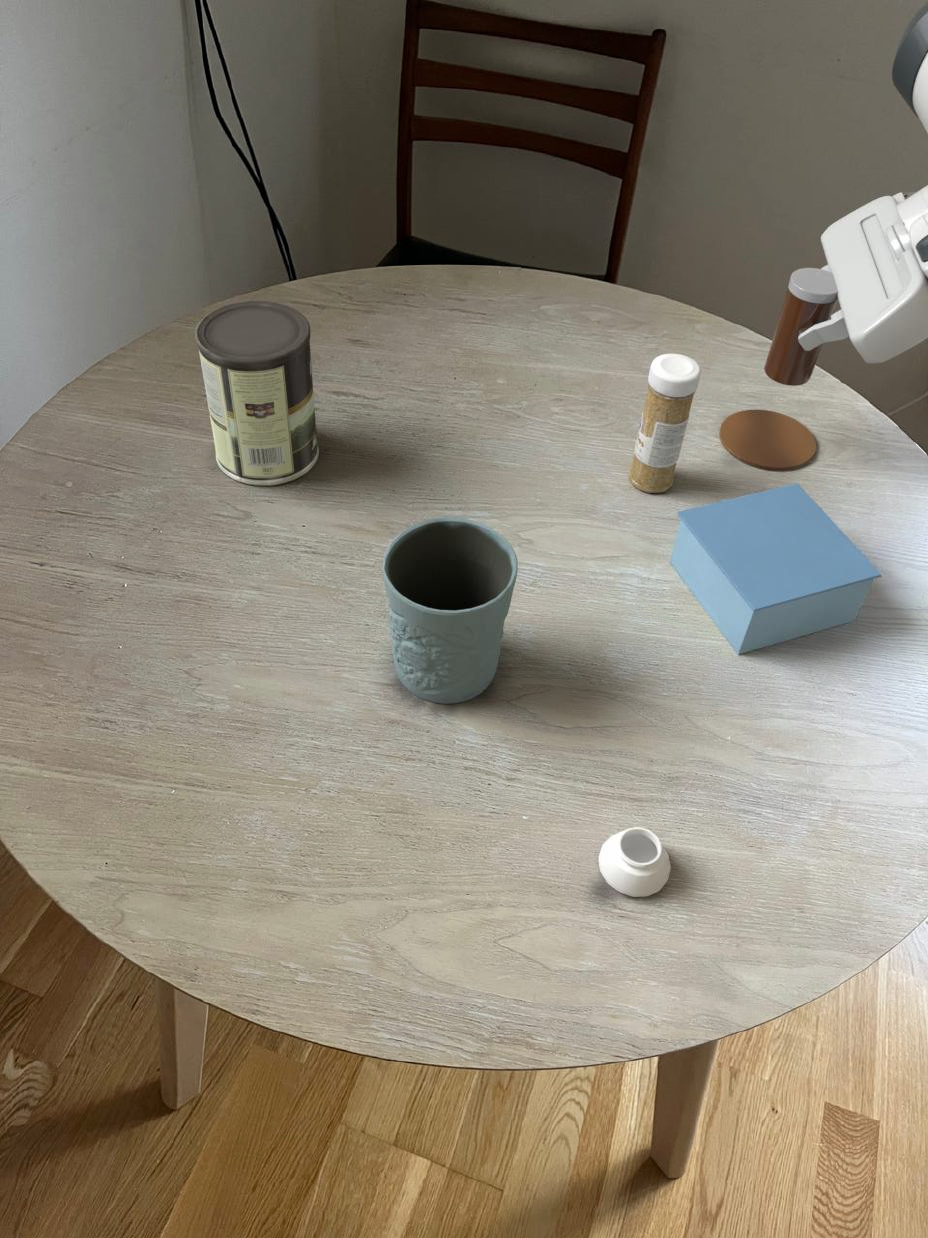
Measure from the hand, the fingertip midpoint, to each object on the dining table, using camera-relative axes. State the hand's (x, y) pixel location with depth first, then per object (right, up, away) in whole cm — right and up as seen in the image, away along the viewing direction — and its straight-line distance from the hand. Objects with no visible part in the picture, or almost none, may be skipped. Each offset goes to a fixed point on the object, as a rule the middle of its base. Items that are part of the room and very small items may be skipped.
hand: (796, 325), depth 100 cm
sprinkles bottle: (-13, -15, +4) cm, 20 cm away
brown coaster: (0, -9, +10) cm, 14 cm away
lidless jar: (-20, -46, -25) cm, 56 cm away
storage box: (-5, -26, -6) cm, 27 cm away
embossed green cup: (-33, -32, -13) cm, 48 cm away
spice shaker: (0, -4, +4) cm, 5 cm away
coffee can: (-52, -12, +5) cm, 53 cm away
